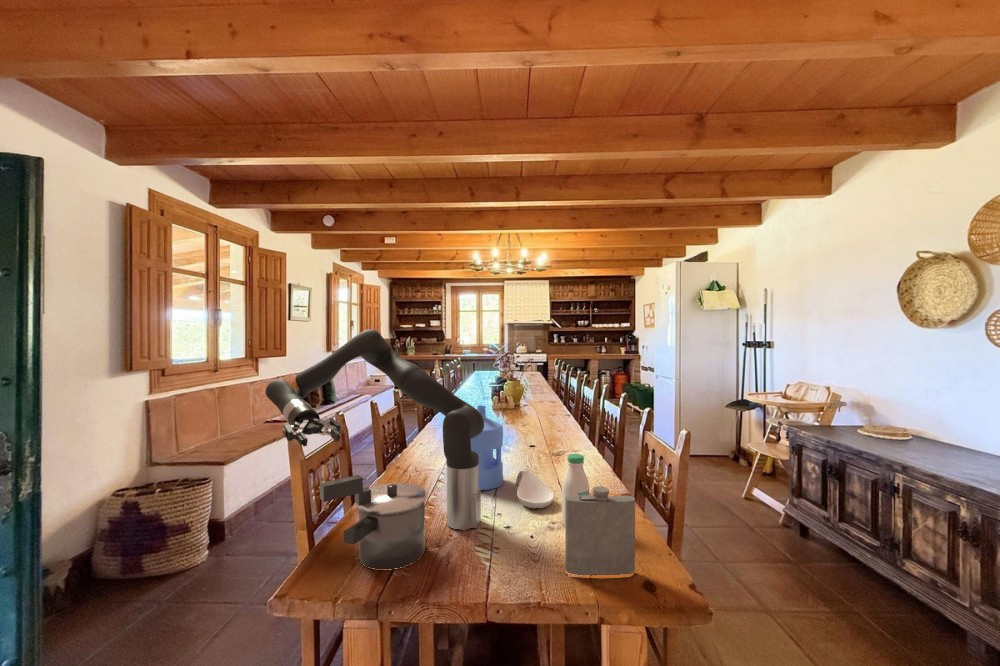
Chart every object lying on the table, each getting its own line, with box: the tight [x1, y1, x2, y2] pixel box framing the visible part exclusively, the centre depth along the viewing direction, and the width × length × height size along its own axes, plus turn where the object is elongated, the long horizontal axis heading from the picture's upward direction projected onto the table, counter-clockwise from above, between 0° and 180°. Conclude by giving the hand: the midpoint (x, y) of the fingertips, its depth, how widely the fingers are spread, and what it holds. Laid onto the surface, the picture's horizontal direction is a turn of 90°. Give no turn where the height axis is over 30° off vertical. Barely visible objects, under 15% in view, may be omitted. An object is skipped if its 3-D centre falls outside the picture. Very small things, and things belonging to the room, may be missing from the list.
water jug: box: [471, 405, 504, 491], centre depth 157 cm, size 16×16×28 cm
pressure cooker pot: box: [343, 502, 426, 569], centre depth 105 cm, size 24×16×13 cm, turn 159°
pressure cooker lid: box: [319, 474, 427, 515], centre depth 106 cm, size 25×17×8 cm, turn 129°
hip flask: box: [564, 486, 636, 576], centre depth 99 cm, size 16×4×20 cm, turn 90°
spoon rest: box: [515, 470, 555, 509], centre depth 144 cm, size 24×12×7 cm, turn 12°
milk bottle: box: [561, 453, 590, 526], centre depth 124 cm, size 8×8×20 cm
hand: (322, 440), depth 115 cm, fingers open, 8 cm apart
